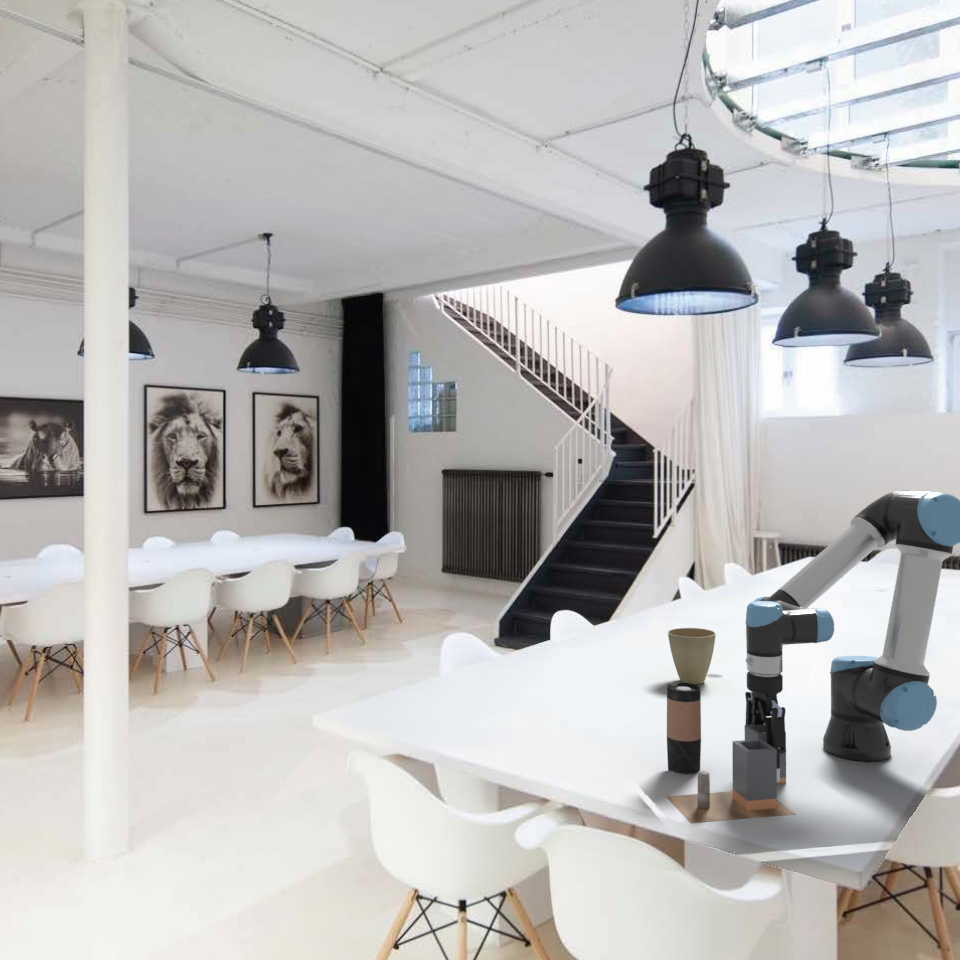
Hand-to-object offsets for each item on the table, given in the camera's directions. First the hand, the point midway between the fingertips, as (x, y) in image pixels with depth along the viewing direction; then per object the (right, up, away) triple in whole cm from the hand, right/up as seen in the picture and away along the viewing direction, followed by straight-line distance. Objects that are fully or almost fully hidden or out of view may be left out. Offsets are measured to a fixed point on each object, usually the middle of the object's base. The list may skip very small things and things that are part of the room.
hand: (765, 775), depth 187 cm
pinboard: (-12, -2, -14) cm, 19 cm away
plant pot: (+5, +1, +84) cm, 84 cm away
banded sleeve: (0, -1, 0) cm, 1 cm away
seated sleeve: (-7, -1, -13) cm, 15 cm away
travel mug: (-16, -2, +7) cm, 18 cm away
